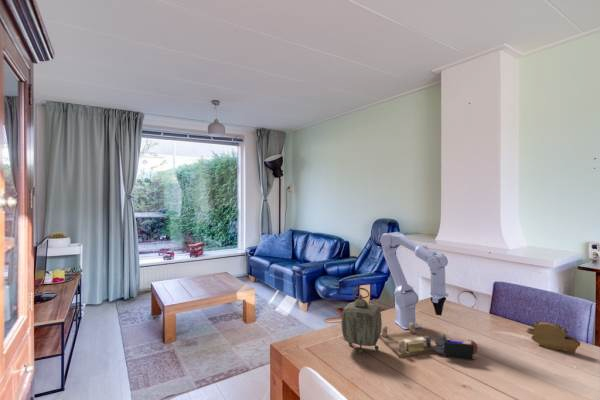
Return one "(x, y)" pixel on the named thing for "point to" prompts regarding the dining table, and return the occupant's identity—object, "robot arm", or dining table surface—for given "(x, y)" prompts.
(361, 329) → the green bag
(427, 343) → the leg bar
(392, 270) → the robot arm
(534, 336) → the wooden carving
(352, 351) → the dining table surface
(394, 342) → the stool seat
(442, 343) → the character figurine
